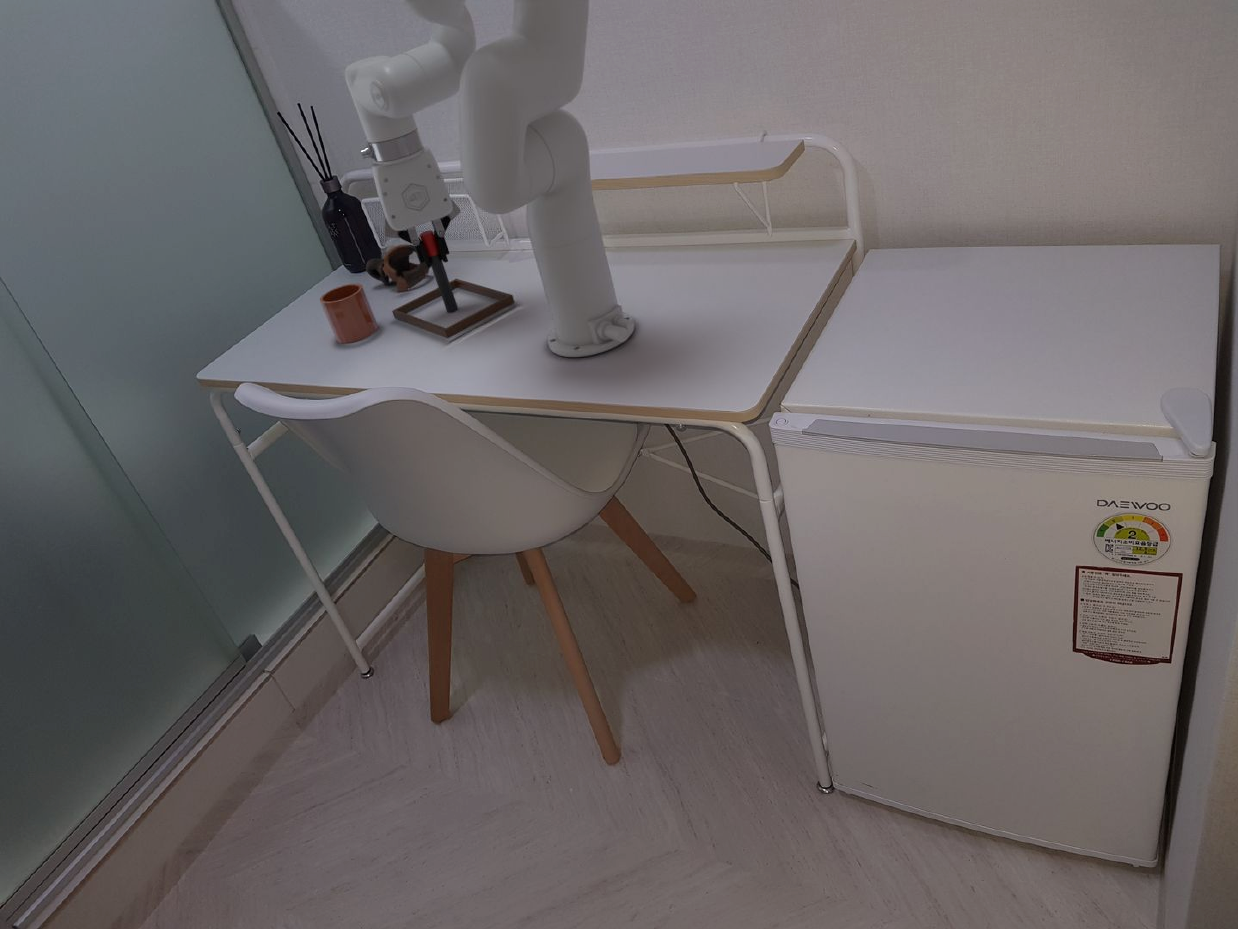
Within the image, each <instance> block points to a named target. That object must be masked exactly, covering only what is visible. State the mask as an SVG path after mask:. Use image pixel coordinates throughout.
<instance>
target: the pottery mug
mask: <svg viewBox="0 0 1238 929" xmlns="http://www.w3.org/2000/svg"><path fill="white" fill-rule="evenodd" d="M414 253H416V251H415V248H414V245H413V244H400V245H397V246H393V247H392V248H390V249H389V250H388V251H387V252H386V253H385V255H384V258H377V257H375V258H371V259H369V260H368V261H367V262H366V265H365V271H366V272H367V275H369V277H371V278H373V279H374V280H377V281H379V282H381V283H382V284H383V285H384V286H385V287H387V286H389V284H390V280H391V281H392V282H393V281H394V282H395V283H396V292H397V293H405V292H409V289H412V288H413V287H415V286H416V285H417V284H419V283H421V282H423V280H424V279H426V277H427V275H428V274H429V272H430V268H427V267H426V265H425V264H424V263H420V262H419V263H414V262H410V256H411V255H413V254H414Z"/></svg>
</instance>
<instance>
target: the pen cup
mask: <svg viewBox="0 0 1238 929" xmlns="http://www.w3.org/2000/svg"><path fill="white" fill-rule="evenodd" d="M364 289H365V288H364V287H363V284H361V283H348V284H343V285H339V286H337V287H334V288H333V289H330V290H328V291H327V292H325V293H324V294H322V296H320V298H319V303H320V304H321V307H322V309H323V312H324V314H325V316H326V318H327V321H328V324H329V326H330V328H331V330H332V332H333V334H334V337H335V339H336V341H337V342H338V343H340V344H352V343H357V342H360V341H363V340H365V339H367V338H369V337H371V336H372V335H374V334H375V333H376V332H377V331H378V330H379V325H378V322H377V319H376V316H375V315H374V312H373V309H372V307H371V305H370V304H371V303H370V301H369V298H368V297H367V294H366V292H365V290H364Z"/></svg>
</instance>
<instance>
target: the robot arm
mask: <svg viewBox="0 0 1238 929" xmlns="http://www.w3.org/2000/svg"><path fill="white" fill-rule="evenodd" d="M400 1H401V3H402V4H403V5H404V7H405V8H406V9H408V10H409V11H410V12H411V13H412V14H414V15H415V16H417V17H418V18H420V19H422V20H424V21H427V22H428V23H432V24H434V26H433V29H432V33H431V36H430V39H429V41H428V42H426V43H425V44H422V45H419V46H417V47H414V48H412V49H409V50H407V51H404V52H402V53H399V54H397V55H393V56H392V57H391V56H389V55H383V54H382V55H375V56H370V57H366V58H363V59H360V60H357V61H354V62H353V63H350V64H349V65H348V66H347V67H346V68H345V70H344V79H345V83H346V85H347V88H348V90H349V94H350V96H351V99H352V102H353V105H354V107H355V109H356V113H357V116H358V119H359V122H360V124H361V128H362V131H363V133H364V135H365V138H366V142H367V144H366V146H365V147H364V148H362V149H360V154H361V157H362V158H363V160H365V159H367V158H368V159H372V160H373V162H372V163H371V170H372V177H373V181H374V186H375V189H376V193H377V197H378V200H379V203H380V206H381V210H382V212H383V231H382V233H383V235H384V237H385V238H390V239H401V240H403V241H405V242H407V243H409V244H410V245H414V248H415V251H416V252H415V253H416V256H417V259H418V261H419V264H420V263H424V264H425V265H426V267H427V268H429V269H432V267H431V263H430V260H429V257H428V254H427V251H426V248H425V245H424V243H423V242H422V240H421V237H420V236H419V234H418V232H417V229H416V227H418V226H420V225H424V224H427V223H429V222H431V225H432V228H433V234H434V237H435V240H436V243H437V246H438V249H439V253H440V256H441V259H442V262H443V263H448V262H449V258H448V255H450V250H449V247H448V244H447V241H446V238H445V236H446V231H447V230H448V228H449V226H450V224H451V222H452V221H453V220H454V219H455V218H456V217H457V216H459V215H460V214H461V212H462V210H461V208H460V207H459V205H458V204H456V203H455V201H454V200H453V199H452V198H451V196H450V192H449V190H448V188H447V185H446V182H445V180H444V176H443V174H442V172H441V170H440V169H441V168H440V167H439V165H438V162H437V160H436V158H435V156H434V154H433V153H432V150H431V149H430V148H429V147H427V146H424V145H423V142H422V139H421V135H420V133H419V130H418V127H417V123H416V121H415V117H414V114H416V113H419V112H421V111H424V110H425V109H427V108H429V107H431V106H433V105H436V104H438V103H441V102H443V101H446V100H447V99H450V98H452V97H453V96H455V95H456V94H457V93H458V119H459V120H458V121H459V122H458V123H459V124H458V125H459V126H458V127H459V159H460V160H459V161H460V171H461V176H462V181H463V185H464V187H465V189H466V192H467V194H468V195H469V197H470V199H471V200H472V202H473V203H474V204H475V205H476V206H477V207H478V208H479V209H480V210H482V211H484V212H486V213H488V214H491V215H505V214H509V213H512V212H514V211H517V210H519V209H521V208H523V207H524V206H526V210H525V213H526V214H525V218H526V228H527V233H528V237H529V241H530V243H531V248H532V251H533V255H534V258H535V263H536V266H537V269H538V273H539V276H540V280H541V283H542V287H543V290H544V293H545V297H546V300H547V304H548V307H549V312H550V314H551V318H552V322H553V325H554V328H553V329H552V330H551V332H550V333H549V334H548V336H547V344H548V348H549V349H550V351H551V352H553V354H556V355H558V356H561V357H565V358H566V357H567V358H568V357H569V358H581V357H589V356H593V355H597V354H598V355H599V354H601V353H604V352H607V351H609V350H612V349H615V348H616V347H617V346H619V345H621V344H623V343H625V342H626V341H627V340H628V339H629V338H630V336H632V334H633V332H634V330H635V322H634V319H633V317H632V316H631V315H630V314H629V313H628V312H626V311H623V307H622V305H619V302H618V298H617V293H616V291H615V286H614V285H615V284H614V282H613V277H612V273H611V269H610V265H609V261H608V257H607V256H608V255H607V252H606V248H605V243H604V240H603V235H602V230H601V227H600V223H599V218H598V214H597V209H596V204H595V200H594V199H595V198H594V194H593V188H592V179H591V163H590V162H591V161H590V148H589V142H588V138H587V135H586V132H585V130H584V127H583V126H582V124H581V123H580V121H579V120H578V119H577V117H575V115H573V114H572V113H571V112H569V111H568V110H565V109H563V107H564V106H566V105H568V104H569V103H572V102H573V100H575V99H576V98H577V96H578V94H579V93H580V92H581V88H582V84H583V78H584V70H585V60H586V48H587V38H588V37H587V36H588V35H587V34H588V24H589V14H590V12H589V9H590V0H513V16H512V24H511V28H510V30H509V32H508V33H507V34H506V35H505V36H504V37H502V38H499V39H497V40H494V41H491V42H489V43H487V44H485V45H483V46H481V47H480V48H478V49H477V37H476V29H475V25H474V21H473V18H472V16H471V13H470V11H469V9H468V8H467V6H466V2H467V0H400Z"/></svg>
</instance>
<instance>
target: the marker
mask: <svg viewBox="0 0 1238 929" xmlns="http://www.w3.org/2000/svg"><path fill="white" fill-rule="evenodd" d="M419 238H420V239H421V241H422V242H423V243H424V245H425V248H426V251H427V254H428V257H429V260H430V263H431V270H432V273H433V276H434V278H435V281H436V284H437V288H439V290H440V293H441V296H440V297H441V299H442V301H443V304H444V307H445V310H446V313H447V314H452V313H455V312H457V311H458V310H459V307H458V303H457V301H456V297H455V295H454V292H453V290H452V289H451V286H450V283H449V282H450V280H449V277H448V274H447V271H446V268H445V265H444V262H443V261H442V259H441V256H440V253H439V249H438V246H437V243H436V240H435V237H434V230H426V231H425V230H424V231H422V232H421V233H420V234H419Z"/></svg>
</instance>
